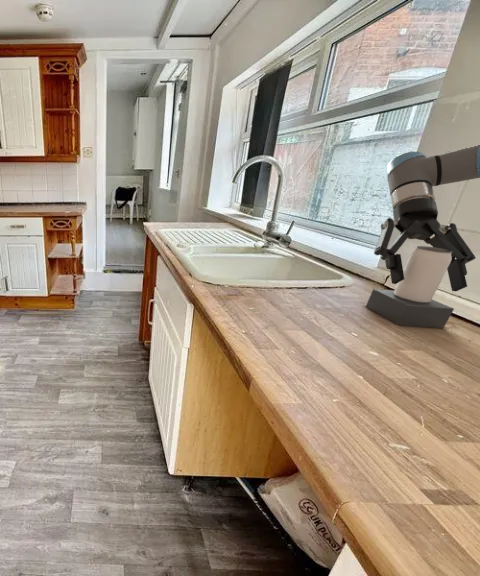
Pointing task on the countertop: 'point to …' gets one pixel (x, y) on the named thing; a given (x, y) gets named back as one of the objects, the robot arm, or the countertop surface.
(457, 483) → the countertop surface
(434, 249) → the can
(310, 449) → the countertop surface
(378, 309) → the grey block
